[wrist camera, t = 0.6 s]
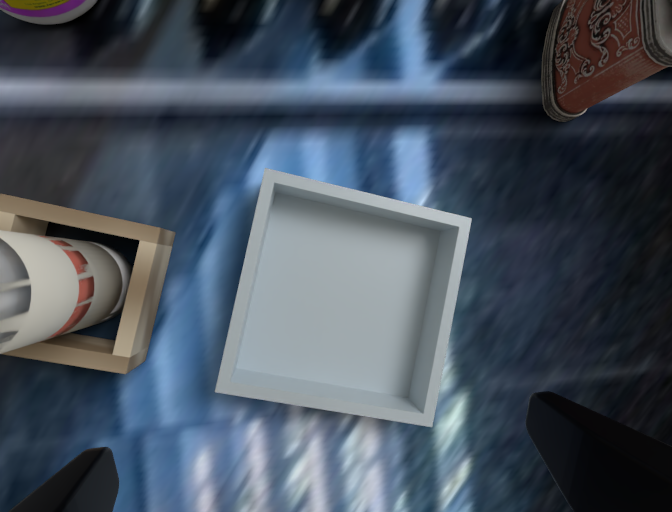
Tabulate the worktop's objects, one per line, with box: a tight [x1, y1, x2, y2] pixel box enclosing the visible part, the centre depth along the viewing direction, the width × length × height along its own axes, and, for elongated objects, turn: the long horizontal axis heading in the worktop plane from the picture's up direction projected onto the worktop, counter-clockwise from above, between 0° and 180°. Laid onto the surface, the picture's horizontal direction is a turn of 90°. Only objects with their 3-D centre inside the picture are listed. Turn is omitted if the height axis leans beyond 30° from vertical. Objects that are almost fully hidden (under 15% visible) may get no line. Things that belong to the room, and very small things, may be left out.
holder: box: [0, 194, 175, 374], centre depth 19 cm, size 7×7×2 cm
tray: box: [215, 168, 472, 427], centre depth 20 cm, size 11×11×3 cm
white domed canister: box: [0, 230, 133, 354], centre depth 15 cm, size 4×4×10 cm
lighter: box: [541, 0, 672, 122], centre depth 19 cm, size 8×3×10 cm, turn 172°
